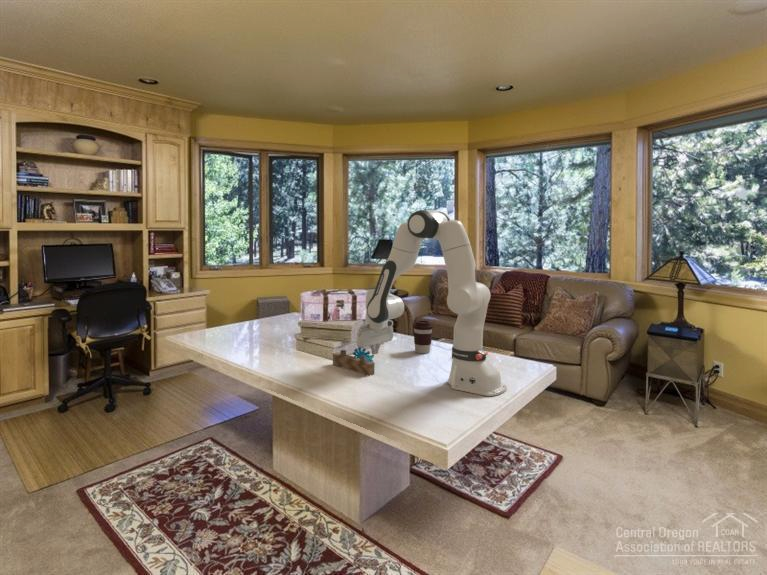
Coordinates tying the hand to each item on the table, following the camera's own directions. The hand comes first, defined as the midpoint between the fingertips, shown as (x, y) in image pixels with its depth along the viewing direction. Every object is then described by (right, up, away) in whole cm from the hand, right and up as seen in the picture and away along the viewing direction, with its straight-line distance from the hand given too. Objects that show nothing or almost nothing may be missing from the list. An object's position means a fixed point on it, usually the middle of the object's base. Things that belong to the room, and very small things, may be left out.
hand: (375, 353), depth 199 cm
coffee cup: (+23, -2, +20) cm, 30 cm away
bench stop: (-9, -5, -10) cm, 14 cm away
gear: (-5, -5, -4) cm, 8 cm away
